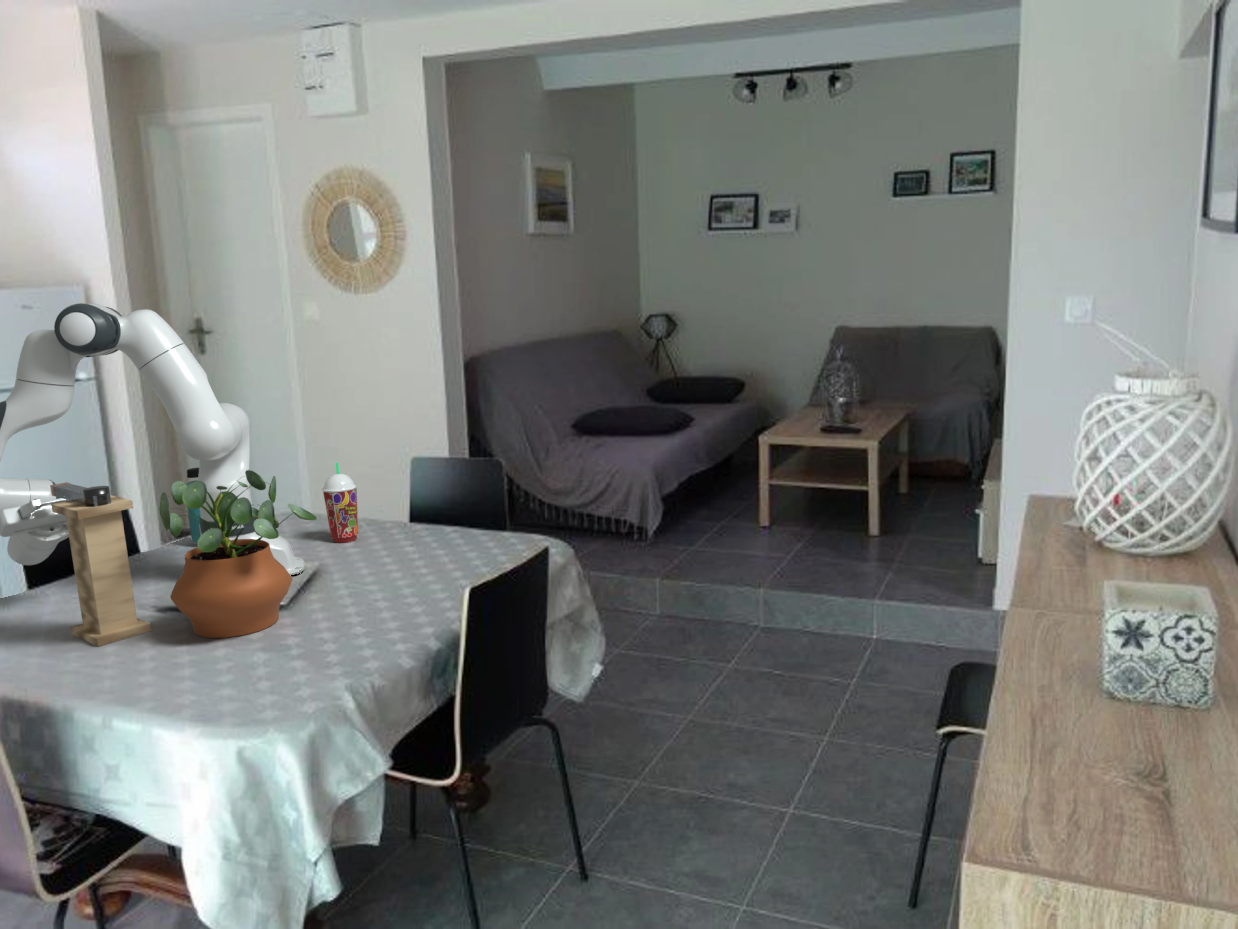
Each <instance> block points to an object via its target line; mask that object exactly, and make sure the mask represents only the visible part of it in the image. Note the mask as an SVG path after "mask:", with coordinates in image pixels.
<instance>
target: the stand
mask: <svg viewBox="0 0 1238 929" xmlns="http://www.w3.org/2000/svg"><path fill="white" fill-rule="evenodd" d="M110 496H111V504H107V505H102V506H96V507H87V506H85V504H82V503H78V502H75V501H71V500H70V501H65V502H60V503H55V504H51V506H52V512H55V513H58V514H62V515H65V516H66V521H67V527H68V533H69V537H68V539H69V545H70V546H69V547H70V550H71V552H70V553H71V557H72V563H73V564H72V565H73V570H74V571H73V572H74V576H75V582H76V590H77V594H78V602H79V607H80V614H81V621H82V623H80V624H77V625H74V626H70V629H71V634H72V635H73V636H76V637H78V638H79V639H81V640H83V641H86V642H87V643H89V644H92V645H94V646H96V647H98V648H99V647H101V646H105V645H108V644H111V643H115V642H118V641H122V640H124V639H128V638H129V639H130V638H132V637H135V636H138V635H143V634H145V633H149V632H152V626H151V623H150V622H148V621H146V620H143V619H140V618H138V616H137V615H138V614H137V610H136V602H135V601H136V600H135V597H134V588H133V582H132V575H131V568H130V563H129V562H130V561H129V556H128V555H129V554H128V549H127V548H128V547H127V541H126V534H125V529H124V528H125V527H124V521H123V515H122V511H126V510H131V509H134V504H133V500H132V499H128V498H124V497H120V496H116V495H112V494H110Z"/></svg>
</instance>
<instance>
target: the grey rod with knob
mask: <svg viewBox="0 0 1238 929" xmlns="http://www.w3.org/2000/svg"><path fill="white" fill-rule="evenodd" d="M50 487H51V494H52V496H56V497H59V498H63V499H67V500H71V501H75V502H78V503H82V504H85V506H87V507H96V506H102V505H107V504H111V496H110V495H111V490H110V486H109V485H97V486H91V487H86V486H81V485H77V484H73V483H70V482H66V481H65V482H61V483H55V484H54V485H50Z"/></svg>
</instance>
